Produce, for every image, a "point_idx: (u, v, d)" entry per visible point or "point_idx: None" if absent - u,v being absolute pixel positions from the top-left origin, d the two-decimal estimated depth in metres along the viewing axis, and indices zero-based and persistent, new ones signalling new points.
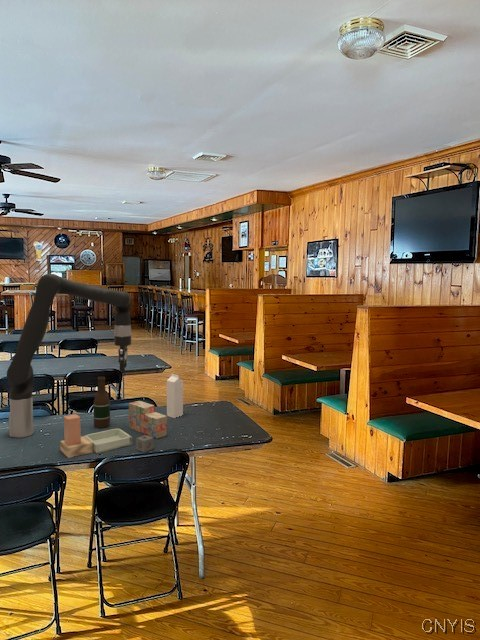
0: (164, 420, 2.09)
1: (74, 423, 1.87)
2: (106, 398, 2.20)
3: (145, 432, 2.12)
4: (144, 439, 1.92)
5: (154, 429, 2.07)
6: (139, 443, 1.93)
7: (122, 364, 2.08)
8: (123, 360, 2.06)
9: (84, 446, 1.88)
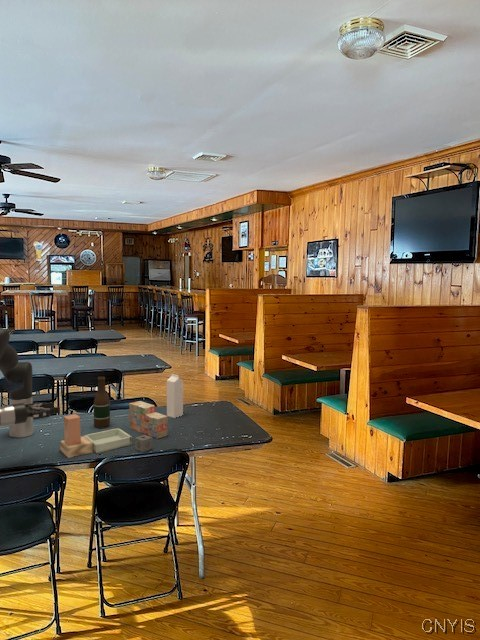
0: (165, 420, 2.09)
1: (74, 423, 1.87)
2: (106, 398, 2.20)
3: (146, 432, 2.12)
4: (143, 439, 1.93)
5: (155, 429, 2.07)
6: (137, 443, 1.93)
7: None
8: None
9: (84, 446, 1.88)
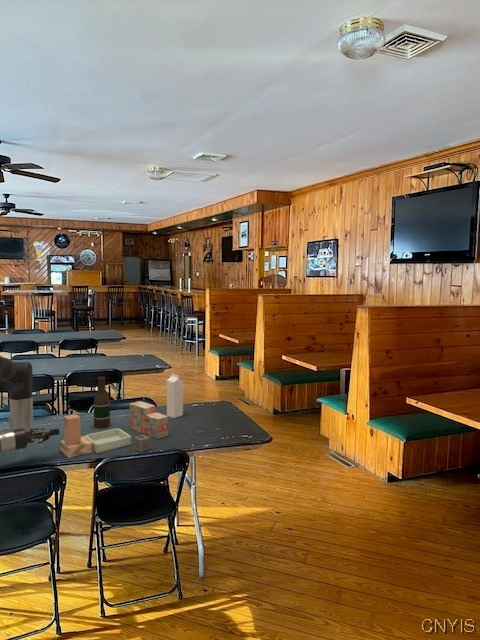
0: (165, 420, 2.09)
1: (74, 423, 1.87)
2: (106, 398, 2.20)
3: (146, 432, 2.12)
4: (141, 439, 1.93)
5: (155, 429, 2.07)
6: (136, 442, 1.93)
7: None
8: None
9: (84, 446, 1.88)
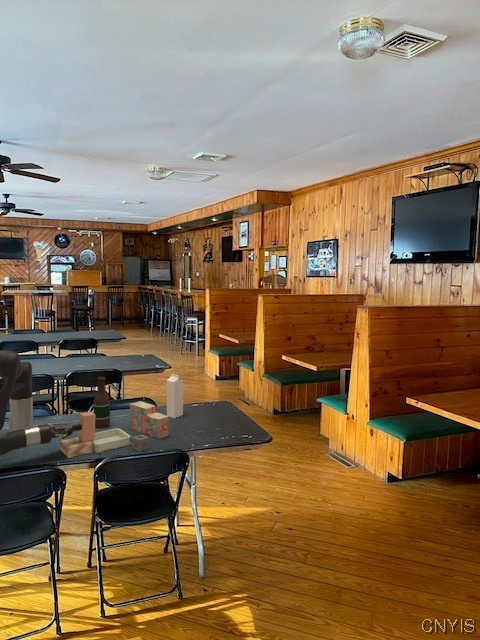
0: (166, 420, 2.09)
1: (89, 420, 1.91)
2: (106, 398, 2.20)
3: (147, 433, 2.12)
4: (140, 438, 1.93)
5: (156, 429, 2.07)
6: (134, 442, 1.93)
7: None
8: None
9: (84, 446, 1.88)
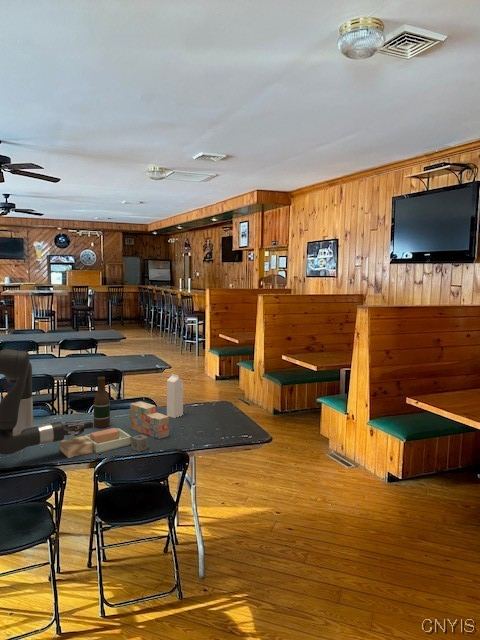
0: (166, 420, 2.09)
1: (114, 437, 1.99)
2: (106, 398, 2.20)
3: (147, 433, 2.11)
4: (139, 438, 1.93)
5: (156, 430, 2.06)
6: (134, 442, 1.93)
7: None
8: None
9: (84, 446, 1.88)
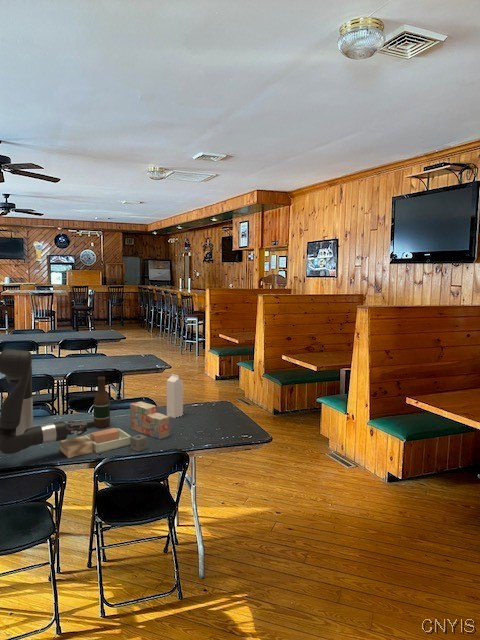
0: (166, 420, 2.09)
1: (114, 437, 1.99)
2: (106, 398, 2.20)
3: (147, 433, 2.11)
4: (138, 438, 1.93)
5: (157, 430, 2.06)
6: (133, 442, 1.94)
7: None
8: None
9: (84, 446, 1.88)
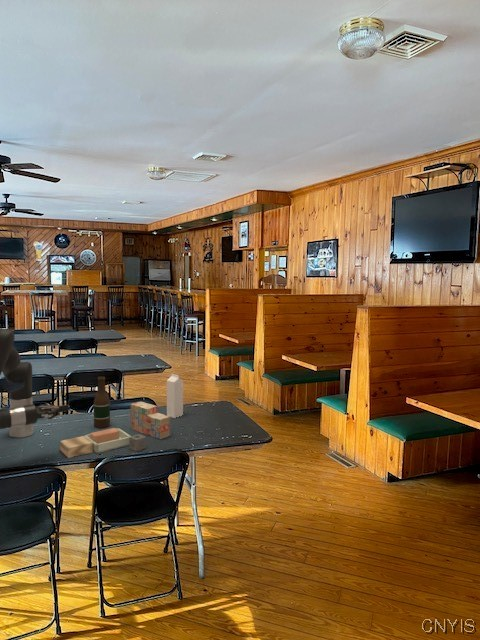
0: (167, 420, 2.08)
1: (114, 437, 1.99)
2: (106, 398, 2.20)
3: (148, 433, 2.11)
4: (137, 438, 1.93)
5: (157, 430, 2.06)
6: (131, 442, 1.94)
7: None
8: None
9: (84, 446, 1.88)
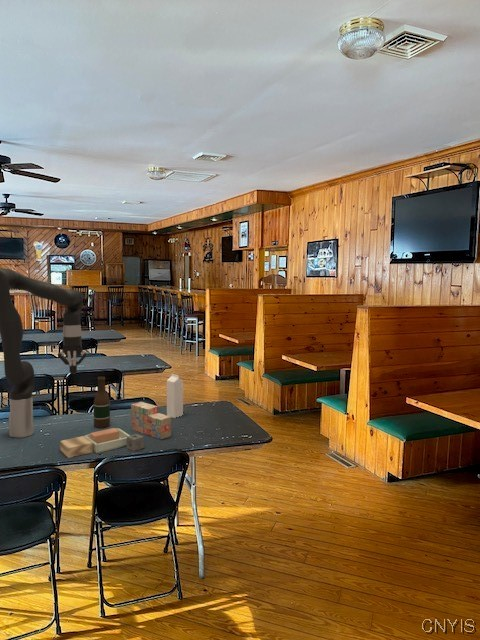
0: (168, 420, 2.08)
1: (114, 437, 1.99)
2: (106, 398, 2.20)
3: (149, 433, 2.11)
4: (134, 438, 1.94)
5: (158, 430, 2.06)
6: (129, 442, 1.94)
7: None
8: None
9: (84, 446, 1.88)
